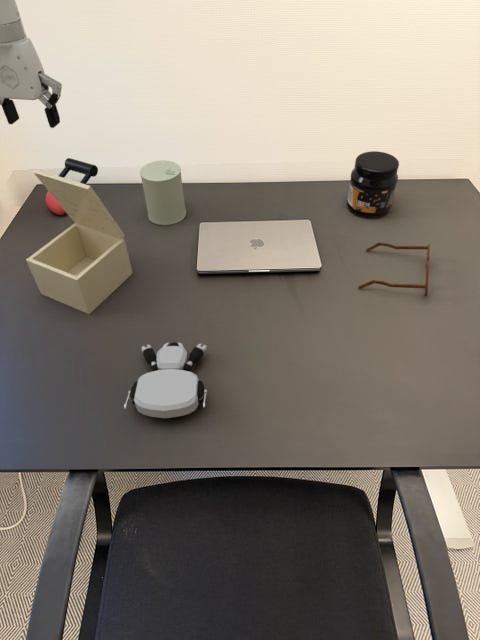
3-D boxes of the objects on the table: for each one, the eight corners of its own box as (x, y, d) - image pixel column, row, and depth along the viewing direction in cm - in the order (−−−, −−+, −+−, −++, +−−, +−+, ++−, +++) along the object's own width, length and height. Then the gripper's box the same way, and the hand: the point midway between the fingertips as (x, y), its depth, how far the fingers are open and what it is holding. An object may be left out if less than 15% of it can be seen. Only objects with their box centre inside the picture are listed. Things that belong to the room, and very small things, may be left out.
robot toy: (142, 355, 83) (127, 426, 72) (137, 337, 80) (121, 408, 69) (210, 354, 83) (206, 425, 72) (209, 336, 80) (204, 406, 69)
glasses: (426, 301, 90) (433, 282, 87) (357, 289, 93) (362, 270, 90) (428, 260, 99) (434, 241, 95) (365, 249, 102) (369, 230, 98)
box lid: (87, 189, 78) (106, 162, 80) (33, 172, 83) (52, 147, 84) (123, 238, 91) (138, 215, 93) (73, 221, 95) (89, 199, 97)
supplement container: (337, 209, 113) (344, 162, 104) (360, 191, 118) (368, 145, 110) (376, 225, 108) (387, 177, 99) (398, 205, 113) (410, 159, 105)
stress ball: (43, 220, 114) (43, 206, 109) (48, 190, 118) (48, 174, 112) (66, 224, 116) (66, 210, 111) (70, 194, 119) (71, 179, 114)
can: (175, 228, 109) (168, 182, 100) (140, 220, 111) (131, 174, 102) (192, 208, 114) (187, 162, 106) (159, 200, 117) (152, 155, 108)
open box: (89, 314, 90) (76, 280, 83) (41, 294, 94) (25, 259, 88) (132, 273, 98) (124, 239, 92) (86, 256, 102) (75, 222, 96)
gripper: (-50, 36, 86) (-12, 128, 98) (34, 40, 83) (63, 134, 95) (-26, 24, 91) (8, 113, 103) (55, 27, 88) (80, 118, 100)
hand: (34, 123), depth 99 cm, fingers open, 9 cm apart
